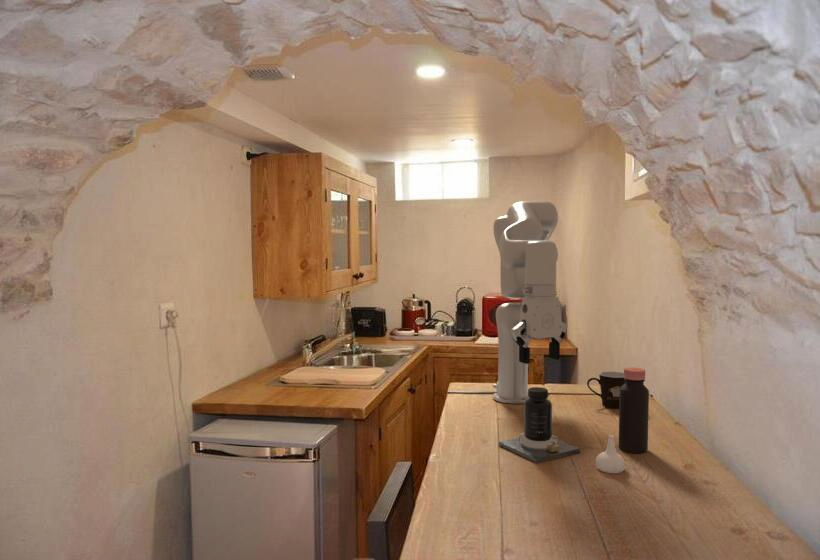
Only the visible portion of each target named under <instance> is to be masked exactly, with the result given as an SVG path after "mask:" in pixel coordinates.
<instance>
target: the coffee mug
mask: <svg viewBox="0 0 820 560" xmlns="http://www.w3.org/2000/svg"><path fill="white" fill-rule="evenodd" d="M598 374H599V378H597V377H591V378H589V379H588V380H587V382H586V385H587V388H588V389H589V390H590V391H591V392H592V393H593V394H595V395H597V396H598V397H599V398H601V404H602V407H604V406H605V408H606V407H608V408H607V409H615V410H619V398H620V388H621V386H623V385H624V384H625V380H624V372H621V371H600V372H599V373H598ZM591 381H597V382H598V384H599V386H600V393H601V394H600V393H599V392H597V391H595V390H593V389H592V388H591V387H590V382H591Z"/></svg>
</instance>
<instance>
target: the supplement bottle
mask: <svg viewBox="0 0 820 560" xmlns="http://www.w3.org/2000/svg"><path fill="white" fill-rule="evenodd" d="M528 397H529V398H528V399H527V400H526V401H525V402H524V403H523V420H524V421H523V424H524V425H523V433H524V435H525V437H526V438H528V439H530V440H535V441H544V440H548V439H550V438H551V437H552V434H553V403H552V401H551V400H550V399H548V398H549V389H547V388H546V387H539V386H538V387H537V386H536V387H529V388H528Z"/></svg>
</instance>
